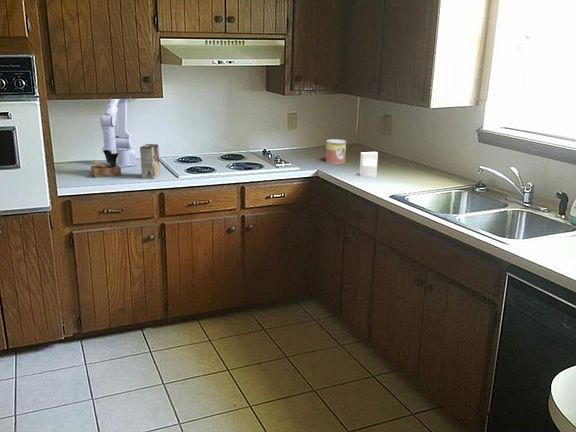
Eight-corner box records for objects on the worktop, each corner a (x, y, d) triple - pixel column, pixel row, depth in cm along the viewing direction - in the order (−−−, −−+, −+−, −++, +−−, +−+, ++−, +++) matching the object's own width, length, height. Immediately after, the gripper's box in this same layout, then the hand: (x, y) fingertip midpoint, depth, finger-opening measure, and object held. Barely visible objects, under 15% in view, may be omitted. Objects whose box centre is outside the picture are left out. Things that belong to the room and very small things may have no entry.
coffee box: (148, 174, 309) (146, 143, 304) (160, 174, 308) (158, 144, 303) (141, 178, 300) (139, 147, 295) (153, 179, 299) (151, 147, 294)
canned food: (332, 164, 337) (333, 143, 334) (321, 160, 347) (322, 140, 343) (349, 162, 343) (350, 141, 339) (337, 158, 352) (338, 138, 348)
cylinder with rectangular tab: (363, 177, 309) (364, 154, 306) (356, 173, 317) (358, 151, 314) (379, 176, 312) (380, 154, 308) (372, 172, 320) (373, 150, 316)
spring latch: (102, 165, 306) (102, 164, 306) (103, 167, 303) (104, 166, 303) (93, 161, 304) (93, 159, 304) (94, 162, 300) (95, 161, 300)
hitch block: (116, 171, 314) (116, 163, 313) (121, 175, 305) (120, 167, 304) (91, 173, 308) (90, 166, 307) (95, 177, 300) (94, 170, 298)
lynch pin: (116, 171, 311) (115, 161, 310) (118, 173, 307) (117, 163, 305) (106, 172, 309) (105, 162, 307) (108, 174, 305) (107, 163, 303)
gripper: (98, 137, 307) (100, 162, 311) (104, 141, 295) (106, 168, 299) (112, 136, 310) (114, 161, 314) (118, 140, 298) (120, 167, 302)
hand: (111, 165), depth 307 cm, fingers open, 7 cm apart
